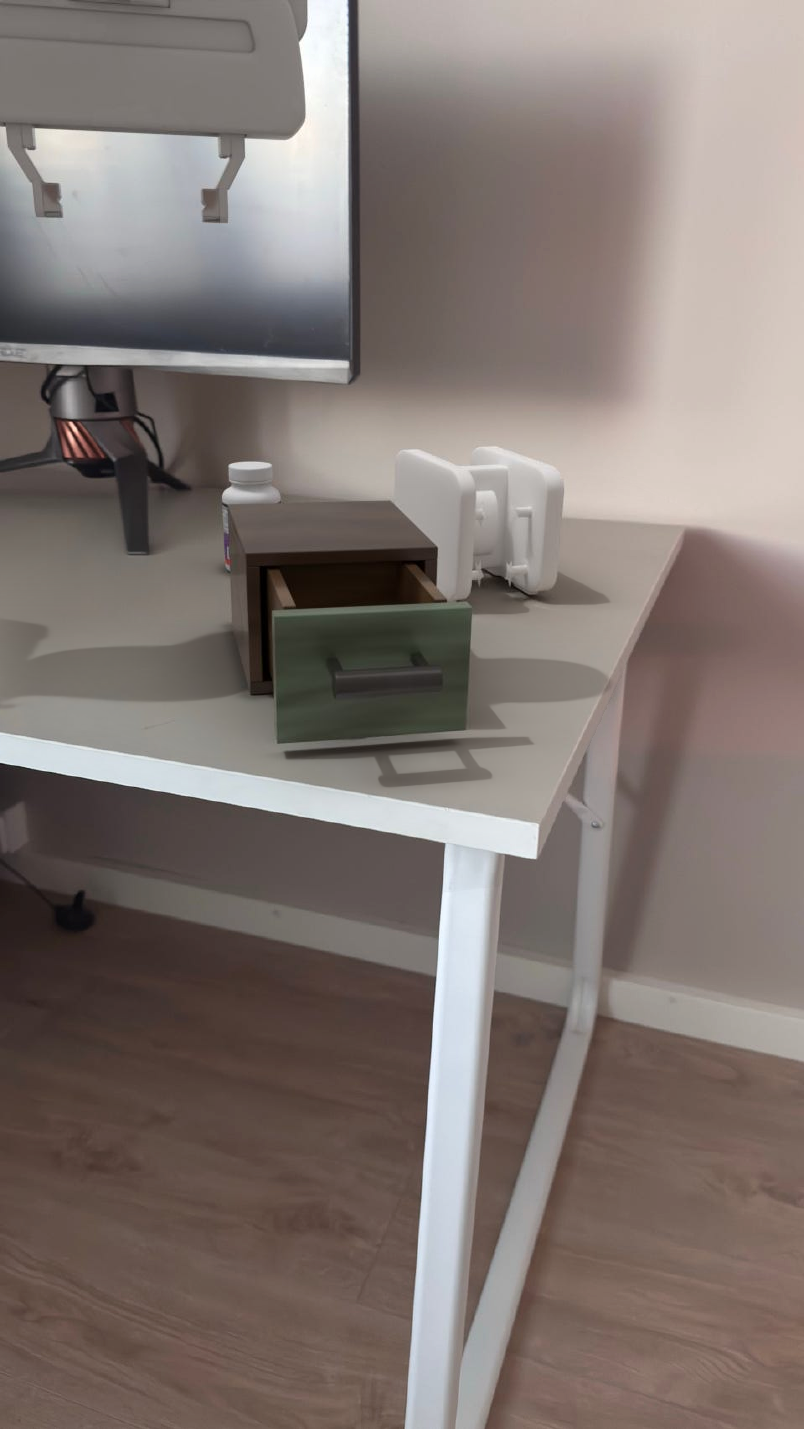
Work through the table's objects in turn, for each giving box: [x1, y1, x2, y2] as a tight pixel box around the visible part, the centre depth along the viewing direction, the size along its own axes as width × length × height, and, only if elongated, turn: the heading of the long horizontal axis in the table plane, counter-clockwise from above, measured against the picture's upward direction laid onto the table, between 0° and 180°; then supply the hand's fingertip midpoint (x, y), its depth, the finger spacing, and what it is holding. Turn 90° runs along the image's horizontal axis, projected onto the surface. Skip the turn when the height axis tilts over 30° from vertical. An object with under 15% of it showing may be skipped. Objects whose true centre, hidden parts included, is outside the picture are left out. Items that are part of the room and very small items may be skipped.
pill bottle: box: [221, 461, 282, 572], centre depth 100 cm, size 5×5×10 cm
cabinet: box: [227, 499, 438, 695], centre depth 79 cm, size 15×13×10 cm
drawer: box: [263, 561, 473, 745], centre depth 67 cm, size 18×12×8 cm, turn 13°
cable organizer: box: [393, 445, 565, 602], centre depth 96 cm, size 15×11×12 cm
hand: (133, 220), depth 63 cm, fingers open, 8 cm apart
